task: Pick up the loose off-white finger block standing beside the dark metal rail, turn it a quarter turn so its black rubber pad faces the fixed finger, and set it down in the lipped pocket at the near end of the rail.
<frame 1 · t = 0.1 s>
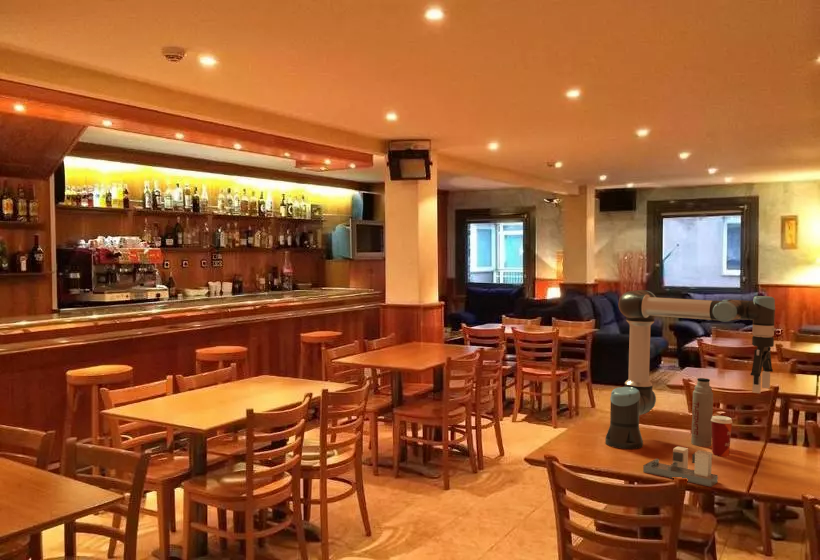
hand: (761, 390, 271), 28 cm above the table, fingers open, 13 cm apart
thermos bottle: (701, 444, 297), on the table
coffee cup: (720, 455, 281), on the table
rail: (679, 477, 251), on the table
loose finger: (680, 469, 260), on the table
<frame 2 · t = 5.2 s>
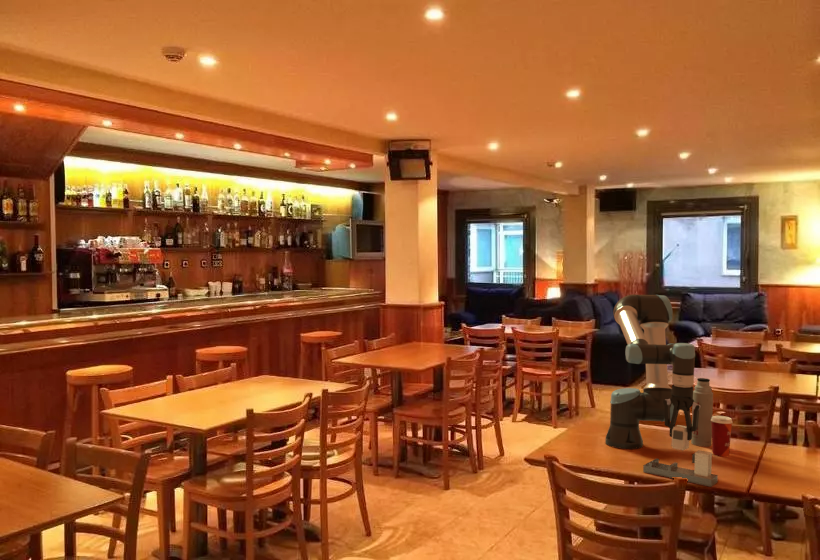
hand: (680, 446, 261), 8 cm above the table, fingers closed on loose finger, 4 cm apart
loose finger: (680, 448, 260), point 8 cm above the table, touching gripper
everything else where it was.
when the fingers open (3 cm above the table, at t = 8.7 s): loose finger stays where it is, resting on rail.
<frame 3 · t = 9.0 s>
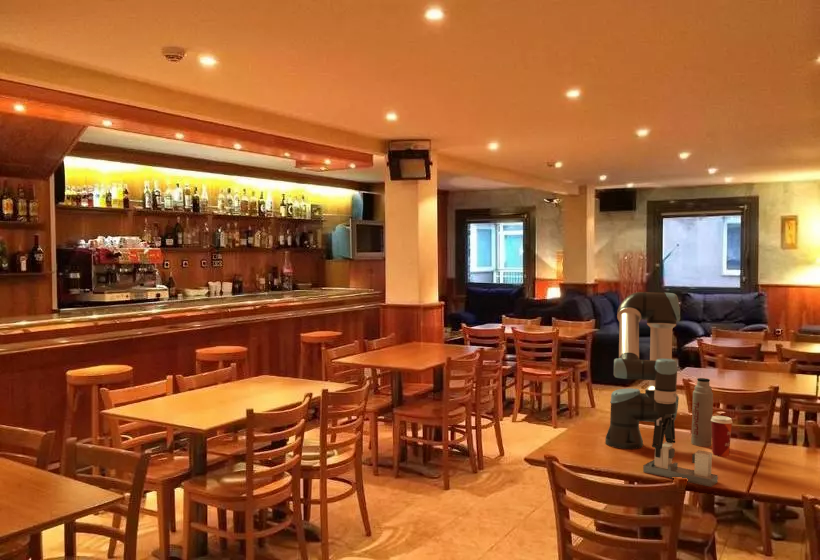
hand: (663, 462, 255), 4 cm above the table, fingers open, 9 cm apart
loose finger: (663, 466, 255), point 2 cm above the table, touching rail
everything else where it was.
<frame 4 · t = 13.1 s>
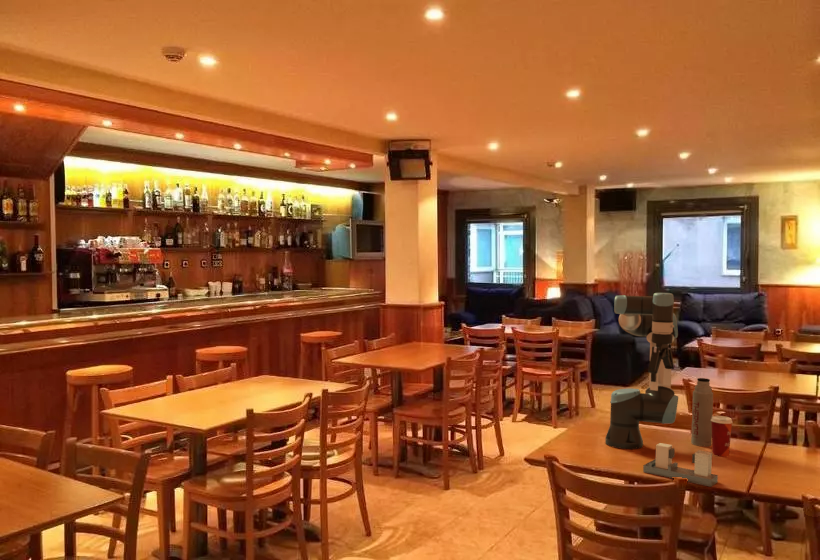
hand: (660, 387, 269), 29 cm above the table, fingers open, 13 cm apart
nothing on the table moved.
at the end: loose finger 0.1 cm from the target spot on the rail, point 2.5 cm above the rail's base; loose finger tilted 0°; the gripper is holding nothing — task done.
